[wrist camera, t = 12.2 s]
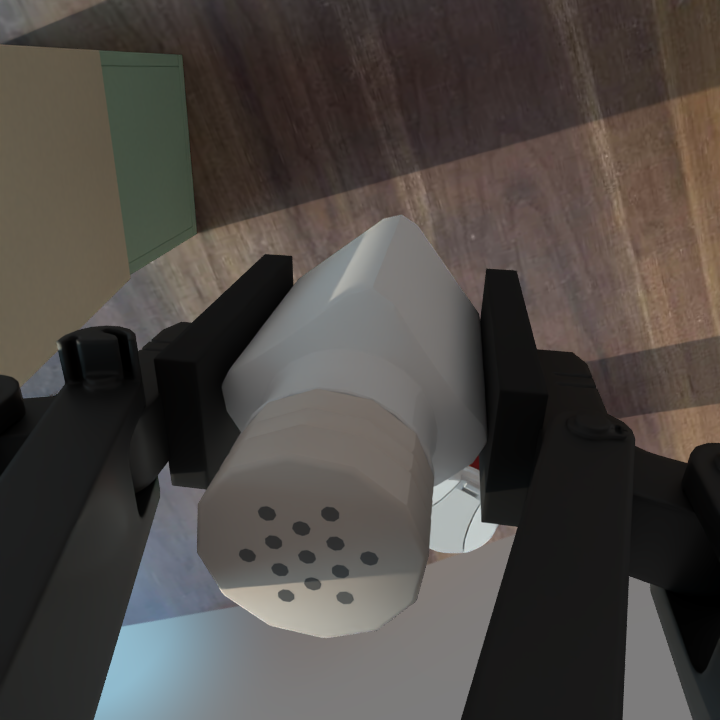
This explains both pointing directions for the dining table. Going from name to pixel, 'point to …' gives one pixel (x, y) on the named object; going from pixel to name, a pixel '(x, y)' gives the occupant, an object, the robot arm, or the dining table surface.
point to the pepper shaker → (346, 437)
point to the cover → (54, 202)
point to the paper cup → (459, 513)
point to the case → (150, 151)
